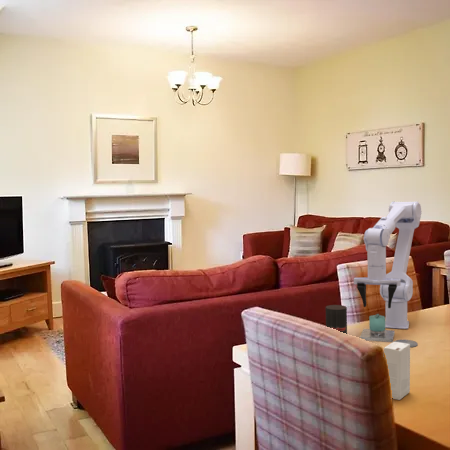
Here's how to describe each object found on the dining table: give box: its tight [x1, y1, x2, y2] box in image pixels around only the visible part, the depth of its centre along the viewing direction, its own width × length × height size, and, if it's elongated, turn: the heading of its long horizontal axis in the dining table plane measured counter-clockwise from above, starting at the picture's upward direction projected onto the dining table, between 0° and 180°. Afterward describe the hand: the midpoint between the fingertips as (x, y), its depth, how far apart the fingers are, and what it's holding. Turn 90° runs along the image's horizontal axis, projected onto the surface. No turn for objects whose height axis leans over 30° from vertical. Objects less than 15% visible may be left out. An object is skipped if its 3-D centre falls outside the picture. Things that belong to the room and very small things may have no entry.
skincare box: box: [383, 341, 411, 401], centre depth 130 cm, size 6×4×12 cm
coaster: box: [393, 339, 419, 348], centre depth 169 cm, size 7×7×1 cm
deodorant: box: [325, 304, 348, 335], centre depth 158 cm, size 6×6×15 cm
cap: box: [368, 313, 386, 331], centre depth 178 cm, size 5×5×5 cm
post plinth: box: [359, 328, 395, 343], centre depth 178 cm, size 10×10×2 cm
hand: (377, 306), depth 177 cm, fingers open, 7 cm apart
